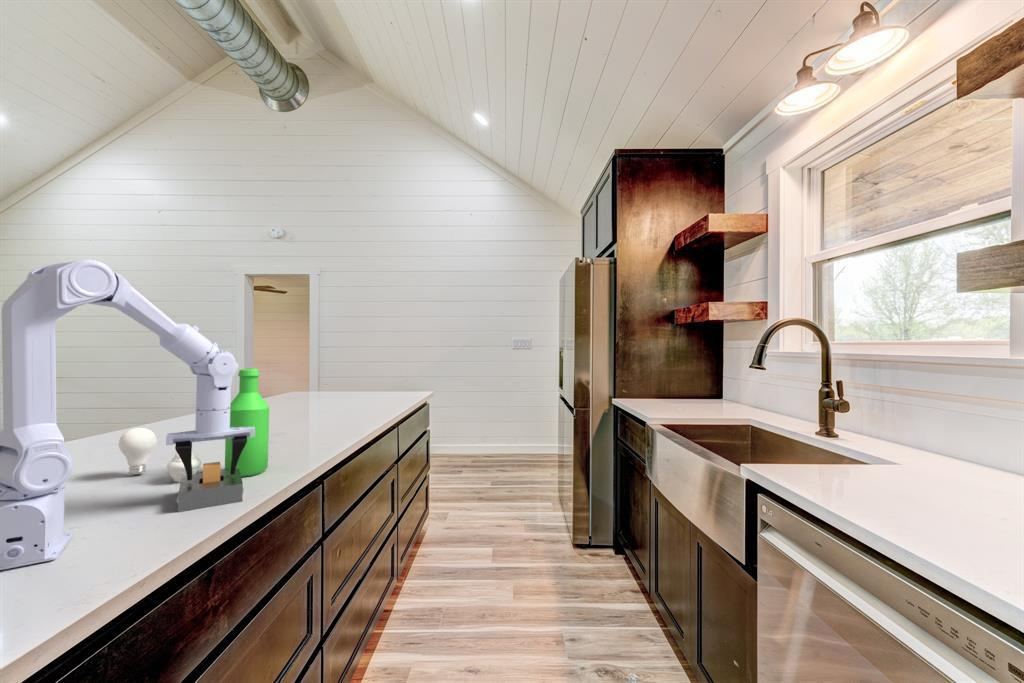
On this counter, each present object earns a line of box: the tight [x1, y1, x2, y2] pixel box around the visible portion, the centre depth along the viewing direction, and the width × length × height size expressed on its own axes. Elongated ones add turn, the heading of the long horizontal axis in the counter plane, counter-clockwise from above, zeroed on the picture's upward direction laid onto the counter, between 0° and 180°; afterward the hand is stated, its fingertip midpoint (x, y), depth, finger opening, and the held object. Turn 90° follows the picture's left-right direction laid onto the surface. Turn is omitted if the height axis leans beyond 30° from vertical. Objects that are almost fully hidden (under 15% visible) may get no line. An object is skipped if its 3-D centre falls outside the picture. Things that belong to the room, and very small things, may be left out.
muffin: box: [166, 450, 202, 483], centre depth 95 cm, size 6×6×7 cm
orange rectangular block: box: [202, 461, 221, 483], centre depth 85 cm, size 3×3×6 cm
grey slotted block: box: [176, 469, 244, 513], centre depth 87 cm, size 17×11×4 cm, turn 36°
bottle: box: [224, 368, 270, 478], centre depth 102 cm, size 9×9×25 cm
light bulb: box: [118, 427, 157, 476], centre depth 98 cm, size 7×7×11 cm
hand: (211, 476), depth 85 cm, fingers open, 6 cm apart
